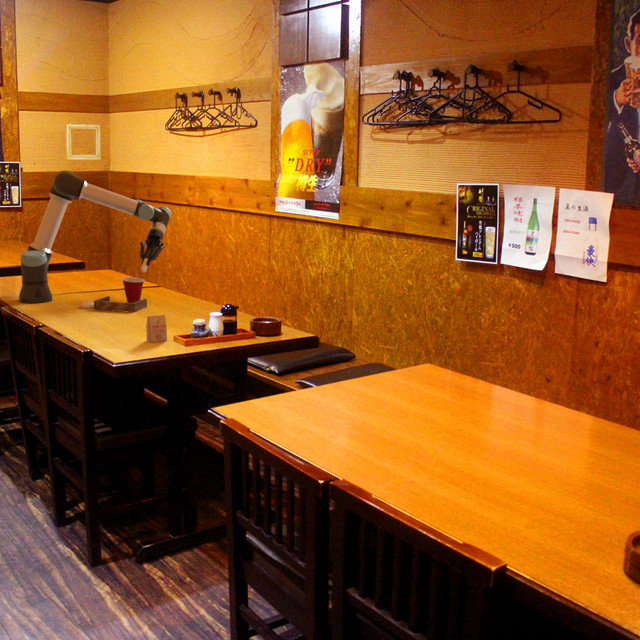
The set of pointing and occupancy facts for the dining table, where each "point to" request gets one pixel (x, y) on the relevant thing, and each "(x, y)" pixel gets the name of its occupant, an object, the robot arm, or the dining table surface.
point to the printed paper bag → (156, 329)
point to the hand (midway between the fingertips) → (143, 270)
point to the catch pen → (119, 305)
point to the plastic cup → (133, 288)
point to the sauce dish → (87, 305)
